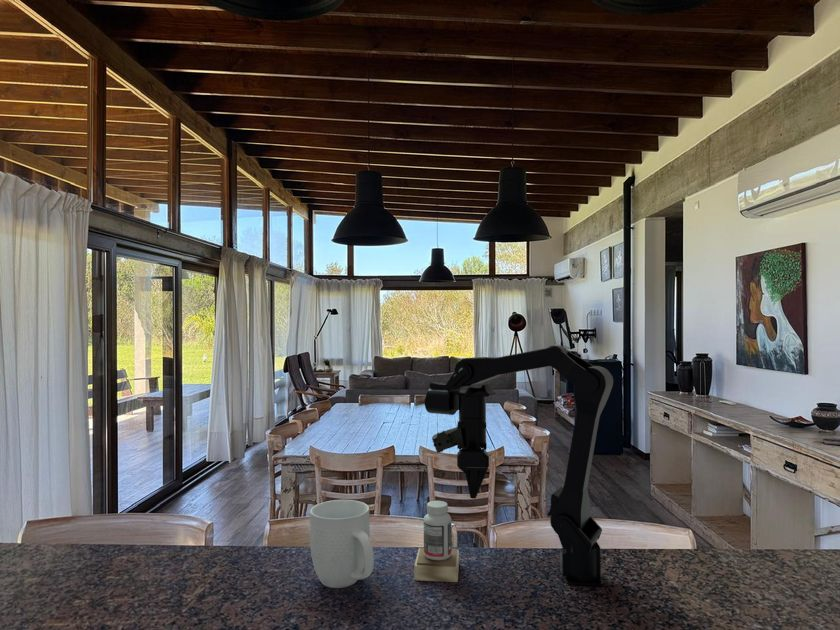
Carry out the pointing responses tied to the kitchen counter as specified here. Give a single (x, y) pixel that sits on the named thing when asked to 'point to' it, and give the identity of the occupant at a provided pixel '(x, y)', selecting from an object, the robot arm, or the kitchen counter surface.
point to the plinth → (436, 567)
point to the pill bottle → (437, 531)
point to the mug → (341, 542)
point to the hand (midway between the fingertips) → (472, 491)
